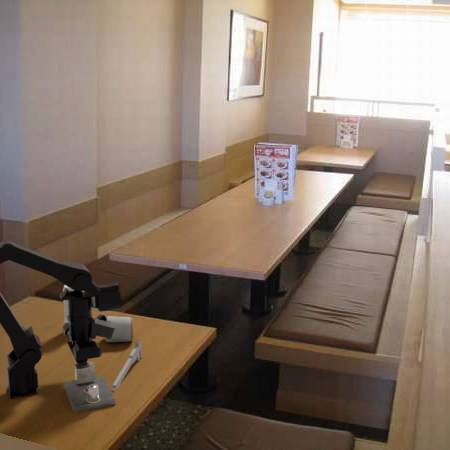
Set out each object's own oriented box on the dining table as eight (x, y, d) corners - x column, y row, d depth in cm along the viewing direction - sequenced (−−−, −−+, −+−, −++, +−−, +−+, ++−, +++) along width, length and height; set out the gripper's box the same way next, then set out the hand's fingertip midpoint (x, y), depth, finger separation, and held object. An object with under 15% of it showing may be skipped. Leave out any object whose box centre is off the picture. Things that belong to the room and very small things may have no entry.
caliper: (138, 357, 181) (138, 337, 179) (142, 358, 181) (141, 337, 179) (110, 392, 161) (109, 369, 160) (114, 392, 161) (114, 369, 160)
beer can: (89, 330, 198) (87, 284, 195) (74, 337, 193) (72, 290, 190) (75, 326, 201) (73, 281, 198) (60, 332, 196) (58, 286, 193)
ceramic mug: (134, 345, 188) (133, 320, 187) (105, 346, 187) (105, 321, 186) (133, 331, 199) (132, 308, 197) (106, 332, 197) (105, 309, 196)
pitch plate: (73, 412, 151) (72, 393, 150) (64, 387, 163) (63, 369, 161) (115, 404, 155) (115, 385, 154) (103, 380, 166) (102, 363, 165)
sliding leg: (77, 384, 161) (76, 368, 160) (75, 378, 163) (74, 363, 162) (94, 381, 162) (94, 365, 161) (92, 376, 165) (91, 360, 164)
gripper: (120, 322, 157) (122, 380, 160) (103, 297, 173) (104, 351, 177) (75, 328, 152) (77, 388, 156) (61, 303, 169) (63, 357, 173)
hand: (82, 370), depth 166 cm, fingers closed
